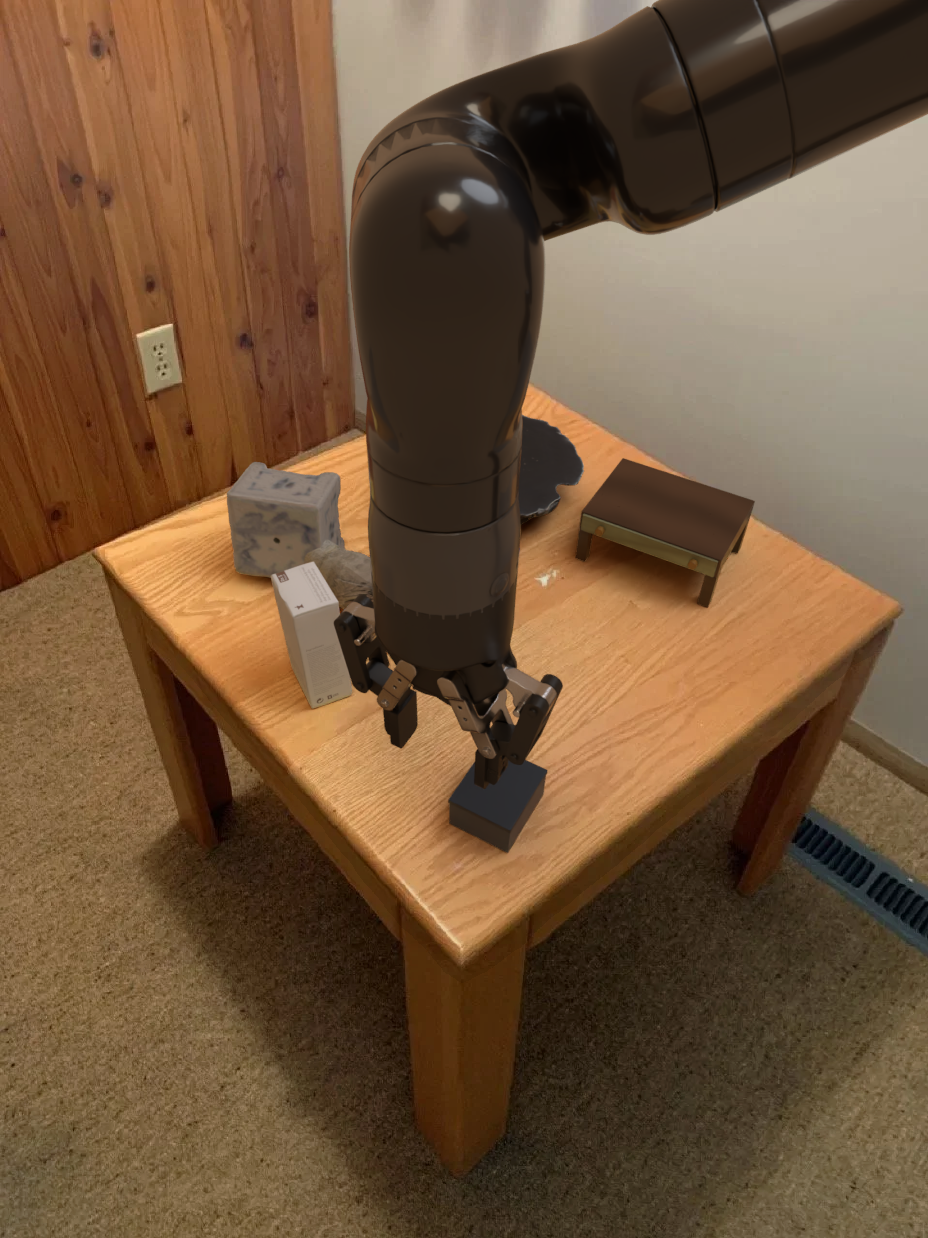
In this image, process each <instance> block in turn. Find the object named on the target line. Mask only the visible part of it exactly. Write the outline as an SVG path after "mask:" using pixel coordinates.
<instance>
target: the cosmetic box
mask: <svg viewBox="0 0 928 1238" xmlns="http://www.w3.org/2000/svg"><path fill="white" fill-rule="evenodd" d="M270 580H271V585H272V590H273V594H274V598H275V603H276V606H277V612H278V615H279V620H280V624H281V628H282V633H283V637H284V641H285V645H286V649H287V654H288V658H289V663H290V667H291V670H292V671H293V674H294V676H295V678H296V679H297V681H298V684H299V686H300V689H301V690H302V692H303V694H304V697H305V698H306V700H307V702H308V704H309V707H310V708H311V709H316V708H319V707H320V708H321V707H323V706H326V705H329V704H331V703H334V702H337V701H340V700H342V699H345V698H347V697H348V698H349V697H350V696H352V694H353V684H352V682H351V678H350V675H349V672H348V669H347V666H346V662H345V659H344V656H343V653H342V649H341V646H340V643H339V640H338V637H337V633H336V630H335V627H334V620H335V619H336V618H337V617H338V616H339V615H340V614H341V612H340V607H339V602H338V600H337V599H336V597H335V595H334V594H333V592H332V590H331V589H330V587H329V586H328V584H327V582H326V581H325V579H324V577H323V576H322V574H321V572H320V571H319V569H318V567H317V566H316V564H315V562H310V563H306V564H303V565H300V566H297V567H294V568H291V569H288V570H285V571H282V572H279V573H276V574H273V575H271V578H270Z"/></svg>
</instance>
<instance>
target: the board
mask: <svg viewBox="0 0 928 1238" xmlns="http://www.w3.org/2000/svg"><path fill="white" fill-rule="evenodd" d="M584 469H585V464H584V461H583V460H582V457H581V456H579V454H578V451H577V447H576V445H575V444H574V443H573V442H572V441H571V439H570V438H569V437H568V436H566V435H565V434H563V433H562V431H561V429H560V428H559V427H557V426H554V425H551V424H550V423H549V422H548V421H546V420H543V419H540V418H539V419H538V418H533V417H530V416H527V415H524V414H522V446H521V462H520V476H519V497H518V500H519V509H520V522H521V526H522V525H523V524H525V523H527V522H529V521H530V520H532V519H534V518H539V517H543V516H546V515H548V514H550V513H552V512H553V511H554V510H556V509H557V508H558V506H559V504H560V501H561V500H562V499H561V498H562V497H561V494H559V492H558V491H557V487H559V486H576V485H579V482H580V481H581V479H582V477H583V475H584V472H585V470H584Z"/></svg>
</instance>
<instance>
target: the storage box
mask: <svg viewBox="0 0 928 1238" xmlns="http://www.w3.org/2000/svg"><path fill="white" fill-rule="evenodd" d="M548 771H549V770H548V769H547V768H544V767H542V766H540V765H538V764H535V763H533V762H531V761H529V760H527V759H525V761H524V763H523V764H522V765H516V764H513V763H511V762H510V761H509V760H508V766H507V768H506V769H505V771H504V772H503V774H502V776H501V777H500V779H499V780H498V782H497V783H496V784H495V785H492V784H490V783H489V785H488V786H487V787H486V789H483V788H481V787H479V786H477V785H475V784H474V772H475V761H474V762H473V763H472V765H471V766H470V768H469V769H468V770H467V772H466V773H465V775H464V776H463V778H462V779H461V780H460V782H459V783H458V785H457V786H456V788H455V789H454V791H453V792H452V794H451V795H450V796H449V798H448V799H447V800H448V801H447V802H448V807H449V808H448V812H449V813H448V823H449V824H450V825H452V826H453V827H455V828H457V829H459V830H461V831H463V832H465V833H467V834H469V835H471V836H473V837H475V838H477V839H479V840H481V841H482V842H485V843H487V844H489V845H491V846H493V847H495V848H497V849H499V850H500V851H502V852H505V853H506V854H508V853H509V852H510V850H511V849H512V848H513V846H514V844H515V842H516V841H517V839H518V837H519V836H520V834H521V832H523V829H524V827H525V826H526V824H527V823H528V821H529V819H530V818H531V816H532V814H533V813H534V811H535V809H536V808H537V806H538V804H539V803H540V801H541V799H542V798H543V796H544V794H545V785H546V777H547V774H548Z"/></svg>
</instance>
